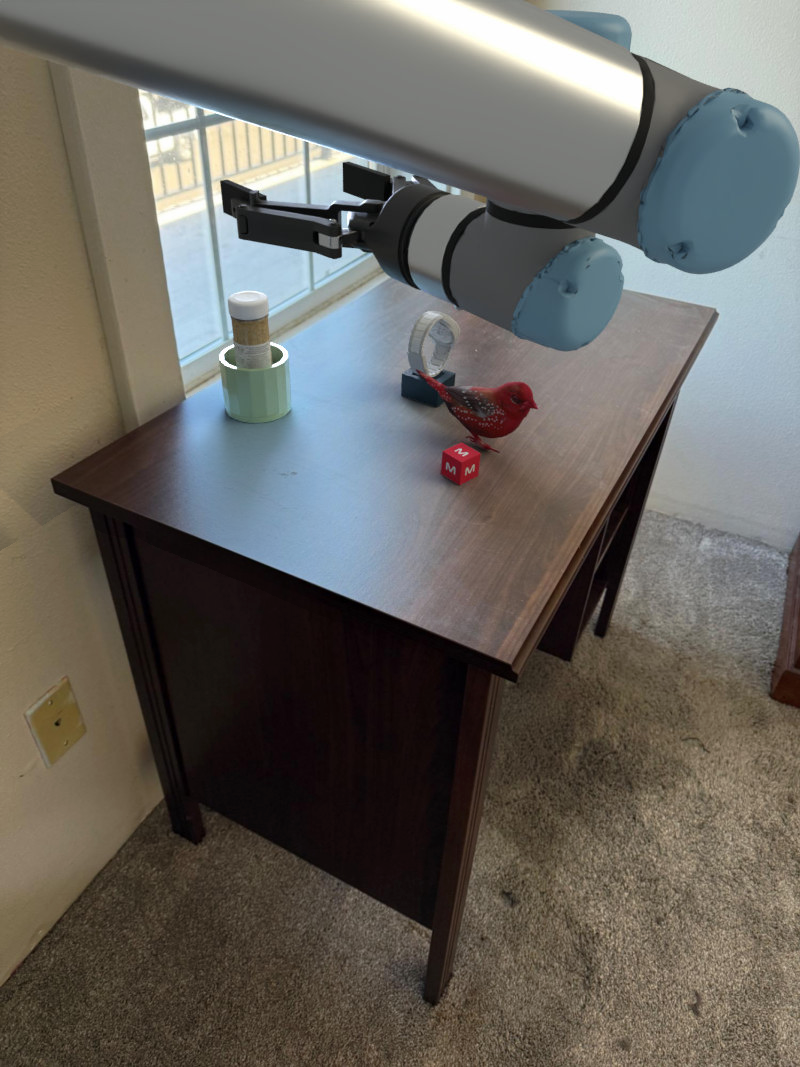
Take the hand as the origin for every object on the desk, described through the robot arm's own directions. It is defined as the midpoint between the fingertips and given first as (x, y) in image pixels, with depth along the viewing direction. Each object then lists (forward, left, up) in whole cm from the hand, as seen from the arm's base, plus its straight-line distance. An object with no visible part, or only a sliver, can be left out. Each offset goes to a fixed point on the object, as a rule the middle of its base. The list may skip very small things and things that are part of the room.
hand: (288, 185), depth 71 cm
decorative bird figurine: (+19, -3, -28) cm, 34 cm away
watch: (+17, +9, -28) cm, 34 cm away
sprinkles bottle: (-5, +8, -27) cm, 29 cm away
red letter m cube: (+16, -10, -28) cm, 34 cm away
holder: (-5, +9, -28) cm, 30 cm away
